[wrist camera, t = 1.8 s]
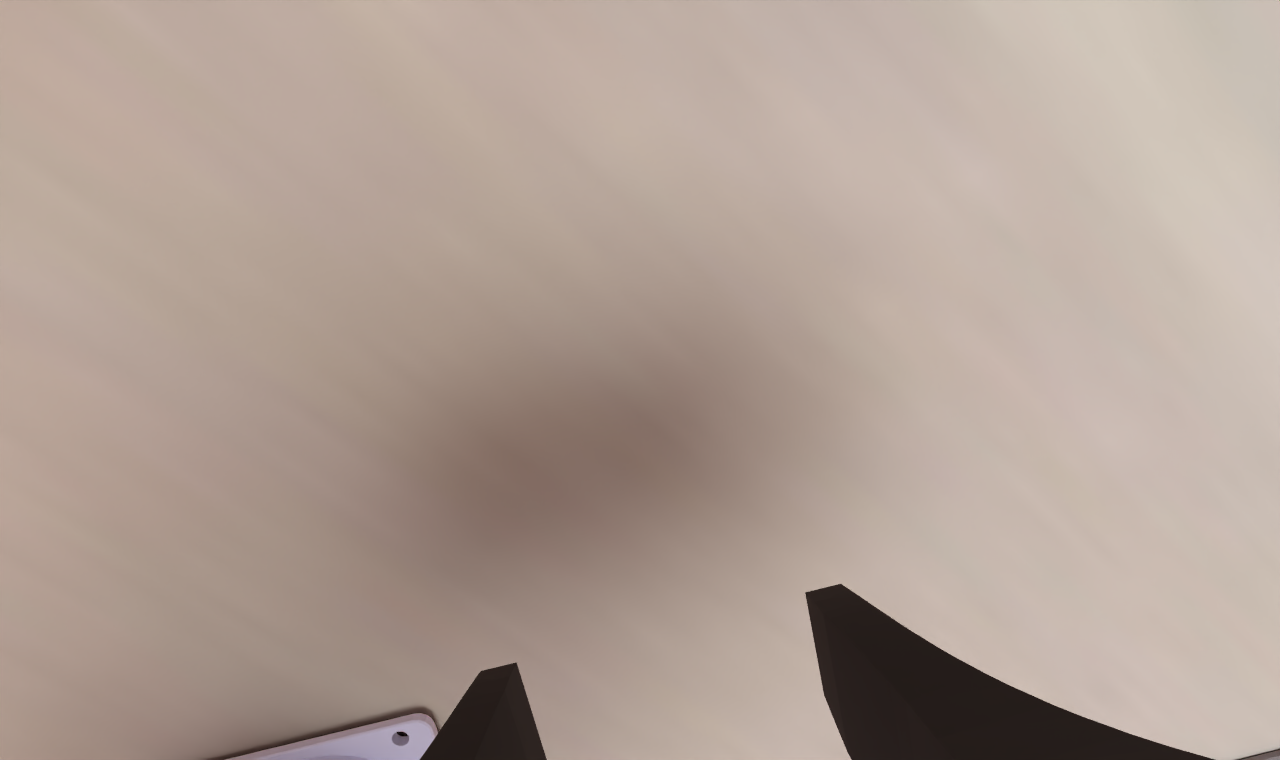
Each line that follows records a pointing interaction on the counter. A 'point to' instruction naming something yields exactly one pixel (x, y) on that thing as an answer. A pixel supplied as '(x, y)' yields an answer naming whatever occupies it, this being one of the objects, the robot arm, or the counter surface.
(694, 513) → the counter surface
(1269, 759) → the mat
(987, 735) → the robot arm
